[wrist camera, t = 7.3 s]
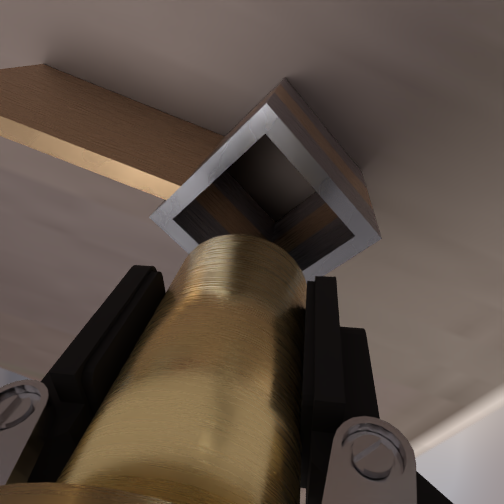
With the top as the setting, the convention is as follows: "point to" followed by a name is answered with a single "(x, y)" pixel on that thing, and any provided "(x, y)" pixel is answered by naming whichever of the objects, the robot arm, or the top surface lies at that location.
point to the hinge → (198, 163)
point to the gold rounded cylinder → (201, 392)
